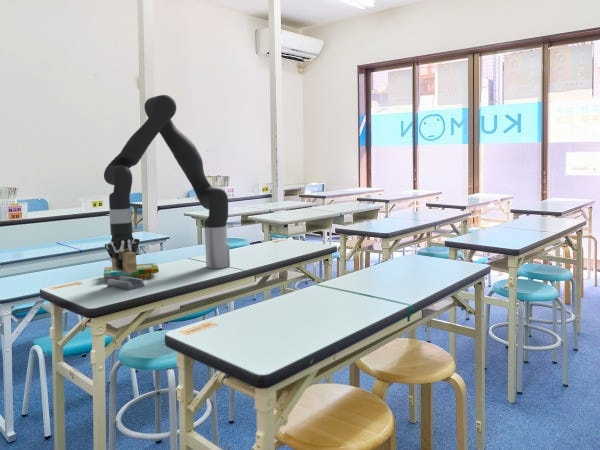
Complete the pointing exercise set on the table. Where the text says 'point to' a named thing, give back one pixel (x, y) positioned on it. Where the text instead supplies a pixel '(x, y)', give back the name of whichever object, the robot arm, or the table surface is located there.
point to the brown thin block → (126, 262)
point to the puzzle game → (141, 272)
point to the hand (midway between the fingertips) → (124, 268)
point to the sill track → (126, 283)
